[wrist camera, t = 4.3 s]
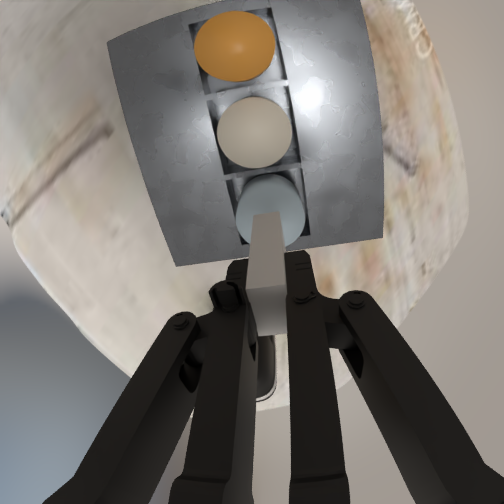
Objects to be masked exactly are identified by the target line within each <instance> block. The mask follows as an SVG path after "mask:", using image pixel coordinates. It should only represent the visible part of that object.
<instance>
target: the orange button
mask: <svg viewBox="0 0 504 504" xmlns="http://www.w3.org/2000/svg"><path fill="white" fill-rule="evenodd" d="M194 52H195V56H196V59H197V61H198V63H199V65H200V66H201V67H202V69H203V70H204V71H206V72H207V73H208V74H210V75H211V76H213V77H215V78H218V79H221V80H225V81H231V82H245V81H249V80H252V79H255V78H257V77H258V76H260V75H261V74H263V73H264V72H265V71H266V70H267V69H268V67H269V66H270V64H271V62H272V59H273V56H274V52H275V38H274V34H273V32H272V30H271V28H270V27H269V25H268V24H267V23H266V22H265V21H264V20H262V19H261V18H260V17H258V16H256V15H254V14H251V13H248V12H244V11H229V12H224V13H221V14H218V15H216V16H214V17H212V18H211V19H209V20H208V21H207V22H206V23H205V24H204V25H203V26H202V27H201V28H200V30H199V31H198V33H197V36H196V38H195V43H194Z"/></svg>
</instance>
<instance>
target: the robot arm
mask: <svg viewBox="0 0 504 504" xmlns="http://www.w3.org/2000/svg"><path fill="white" fill-rule="evenodd" d="M209 295H210V298H211V300H212V303H213V306H214V311H212V312H211V313H208V314H206V315H203V316H200V317H197V318H196V316H195V315H194V314H193V313H191V312H180V313H177V314H175V315H173V316H172V317H171V318H170V319H169V320H168V321H167V323H166V324H165V326H164V327H163V329H162V330H161V332H160V333H159V335H158V337H157V338H156V340H155V341H154V343H153V344H152V346H151V348H150V349H149V351H148V352H147V354H146V355H145V357H144V359H143V360H142V362H141V363H140V365H139V367H138V368H137V370H136V371H135V373H134V375H133V376H132V378H131V379H130V381H129V383H128V384H127V386H126V388H125V389H124V391H123V392H122V394H121V396H120V397H119V399H118V401H117V402H116V404H115V406H114V407H113V409H112V411H111V412H110V414H109V416H108V417H107V419H106V421H105V422H104V424H103V426H102V427H101V429H100V431H99V432H98V434H97V436H96V438H95V440H94V441H93V443H92V445H91V447H90V448H89V450H88V452H87V453H86V455H85V457H84V459H83V461H82V462H81V464H80V466H79V467H78V469H77V471H76V473H75V475H74V477H72V478H71V479H70V480H69V481H68V482H67V483H65V484H64V485H63V486H62V487H61V488H59V489H58V490H57V491H56V492H55V493H53V495H51V496H50V497H49V498H47V499H46V500H45V501H44V502H43V503H42V504H148V503H149V502H150V500H151V497H152V495H153V493H154V491H155V489H156V487H157V485H158V483H159V481H160V479H161V477H162V474H163V473H164V470H165V468H166V466H167V464H168V462H169V460H170V458H171V456H172V454H173V452H174V449H175V447H176V445H177V443H178V441H179V439H180V437H181V434H182V432H183V430H184V428H185V426H186V423H187V422H188V419H189V417H190V415H191V413H192V411H193V409H194V412H193V418H192V423H191V430H190V435H189V440H188V446H187V452H186V458H185V464H184V469H183V472H182V474H181V475H180V476H179V477H177V478H176V479H175V480H174V482H173V483H172V487H171V490H170V496H169V502H168V504H254V500H253V496H252V475H253V456H254V435H255V414H256V393H257V370H258V342H257V338H256V335H257V332H258V336H268V335H277V334H286V333H287V338H288V361H289V388H290V422H291V423H290V424H291V480H290V486H289V487H290V488H289V504H350V494H349V493H350V492H349V483H348V477H347V474H346V471H345V462H344V452H343V443H342V434H341V426H340V418H339V410H338V402H337V395H336V388H335V381H334V375H333V368H332V362H331V356H330V350H329V348H336V349H339V352H340V354H341V355H342V357H343V359H344V361H345V363H346V365H347V367H348V369H349V371H350V373H351V374H352V376H353V378H354V380H355V382H356V384H357V386H358V388H359V390H360V391H361V394H362V396H363V397H364V399H365V402H366V403H367V405H368V407H369V409H370V411H371V413H372V415H373V417H374V419H375V421H376V423H377V425H378V427H379V429H380V431H381V433H382V435H383V437H384V439H385V441H386V443H387V445H388V448H389V450H390V452H391V454H392V456H393V458H394V460H395V462H396V464H397V466H398V468H399V470H400V473H401V475H402V477H403V479H404V481H405V483H406V485H407V488H408V490H409V492H410V494H411V496H412V497H413V499H414V501H415V503H416V504H504V477H502V476H501V475H500V474H498V473H497V472H496V471H494V470H493V469H492V468H490V467H489V466H487V465H486V464H485V463H484V461H483V460H482V458H481V456H480V454H479V453H478V451H477V449H476V447H475V446H474V444H473V442H472V440H471V439H470V437H469V435H468V434H467V432H466V430H465V429H464V427H463V425H462V424H461V422H460V421H459V419H458V417H457V416H456V414H455V413H454V411H453V409H452V408H451V406H450V405H449V403H448V402H447V400H446V399H445V397H444V395H443V394H442V392H441V391H440V389H439V388H438V386H437V385H436V384H435V382H434V381H433V379H432V378H431V376H430V375H429V373H428V372H427V370H426V369H425V367H424V366H423V365H422V363H421V362H420V360H419V359H418V358H417V356H416V355H415V353H414V352H413V351H412V349H411V348H410V347H409V345H408V344H407V342H406V341H405V340H404V338H403V337H402V336H401V334H400V333H399V332H398V330H397V329H396V328H395V326H394V325H393V324H392V322H391V321H390V320H389V318H388V317H387V316H386V314H385V313H384V312H383V310H382V309H381V308H380V307H379V305H378V304H377V303H376V302H375V300H374V299H373V298H372V296H370V295H369V294H368V293H366V292H364V291H358V290H354V291H349V292H347V293H345V294H343V295H342V296H341V298H340V299H332V298H327V297H325V296H323V295H321V294H320V293H319V292H318V290H317V288H316V283H315V278H314V273H313V269H312V264H311V259H310V255H309V254H308V253H307V252H306V251H305V250H300V251H293V252H286V249H285V242H284V236H283V230H282V224H281V218H280V212H279V211H277V212H270V213H264V214H257V215H253V223H252V232H251V242H250V252H249V258H248V259H241V260H234V261H233V262H232V263H231V264H230V265H229V267H228V270H227V275H226V280H224V281H220V282H218V283H216V284H215V285H213V286H212V287H211V288H210V290H209Z"/></svg>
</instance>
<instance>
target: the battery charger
mask: <svg viewBox="0 0 504 504" xmlns="http://www.w3.org/2000/svg"><path fill="white" fill-rule="evenodd" d="M213 311H214V308H213ZM256 338H257V342H258V370H257V393H256V402H260V401H264V400H266V399H268V398H270V397H271V396H272V395H273V393H274V391H275V389H276V383H277V350H276V338H275V335H268V336H258V332H257V335H256Z"/></svg>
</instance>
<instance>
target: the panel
mask: <svg viewBox="0 0 504 504" xmlns="http://www.w3.org/2000/svg"><path fill="white" fill-rule="evenodd" d="M229 11H244V12H248V13H251V14H254V15H256V16H258V17H260V18H261V19H262V20H264V21H265V22H266V23H267V24H268V25H269V27H270V28H271V30H272V32H273V34H274V38H275V52H274V56H273V59H272V62H271V64H270V66H269V67H268V69H267V70H266V71H265V72H264V73H263V74H261V75H260V76H258V77H257V78H255V79H252V80H249V81H245V82H231V81H225V80H221V79H218V78H215V77H213V76H211V75H210V74H208V73H207V72H206V71H204V70H203V69H202V67H201V66H200V65H199V63H198V61H197V59H196V56H195V52H194V43H195V38H196V36H197V33H198V31H199V30H200V28H201V27H202V26H203V25H204V24H205V23H206V22H207V21H208V20H209V19H211V18H212V17H214V16H216V15H218V14H221V13H224V12H229ZM107 46H108V51H109V56H110V60H111V65H112V69H113V74H114V78H115V82H116V86H117V90H118V94H119V98H120V102H121V105H122V109H123V113H124V116H125V120H126V124H127V127H128V131H129V134H130V137H131V141H132V144H133V147H134V151H135V154H136V157H137V160H138V163H139V166H140V169H141V173H142V176H143V179H144V182H145V185H146V187H147V190H148V193H149V196H150V199H151V202H152V205H153V207H154V210H155V213H156V216H157V218H158V221H159V224H160V227H161V229H162V232H163V234H164V237H165V240H166V242H167V245H168V247H169V250H170V252H171V255H172V257H173V260H174V262H175V265H176V267H177V266H185V265H192V264H199V263H207V262H214V261H221V260H228V259H236V258H243V257H249V252H250V244H249V243H248V242H247V241H245V240H244V239H243V237H242V236H241V235H240V233H239V231H238V229H237V226H236V212H237V208H238V203H239V198H240V194H241V192H242V190H243V188H244V187H245V185H246V184H247V183H248V182H249V181H251V180H252V179H254V178H256V177H258V176H261V175H265V174H274V175H279V176H282V177H284V178H286V179H288V180H289V181H290V182H292V183H293V184H294V186H295V187H296V188H297V190H298V192H299V195H300V198H301V202H302V205H303V209H304V213H305V225H304V228H303V231H302V233H301V234H300V236H299V237H298V238H297V239H296V240H295V241H294V242H293V243H292V244H290V245H288V246H286V247H285V249H286V251H293V250H300V249H307V248H315V247H322V246H329V245H336V244H343V243H350V242H357V241H364V240H371V239H378V238H383V219H384V165H383V143H382V128H381V117H380V107H379V98H378V90H377V82H376V75H375V69H374V63H373V57H372V51H371V46H370V41H369V36H368V31H367V27H366V23H365V18H364V14H363V10H362V6H361V3H360V0H225V1H220V2H216V3H212V4H208V5H204V6H200V7H197V8H193V9H190V10H186V11H183V12H180V13H177V14H174V15H171V16H168V17H165V18H162V19H159V20H157V21H154V22H151V23H149V24H146V25H144V26H141V27H139V28H136V29H134V30H132V31H129V32H127V33H125V34H123V35H121V36H118V37H116V38H114V39H112V40H110V41H108V42H107ZM252 96H260V97H265V98H268V99H270V100H272V101H274V102H275V103H277V104H278V105H279V106H280V107H281V108H282V110H283V111H284V112H285V113H286V115H287V117H288V118H289V121H290V124H291V128H292V138H291V143H290V146H289V148H288V150H287V151H286V153H285V154H284V155H283V157H282V158H281V159H279V160H278V161H277V162H275V163H274V164H272V165H269V166H267V167H263V168H247V167H243V166H240V165H238V164H236V163H234V162H233V161H231V160H230V159H229V158H228V157H227V156H226V155H225V154H224V153H223V151H222V149H221V147H220V145H219V142H218V138H217V127H218V123H219V120H220V118H221V116H222V114H223V113H224V112H225V110H226V109H227V108H228V107H229V106H231V105H232V104H234V103H235V102H237V101H239V100H241V99H244V98H247V97H252Z"/></svg>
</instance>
